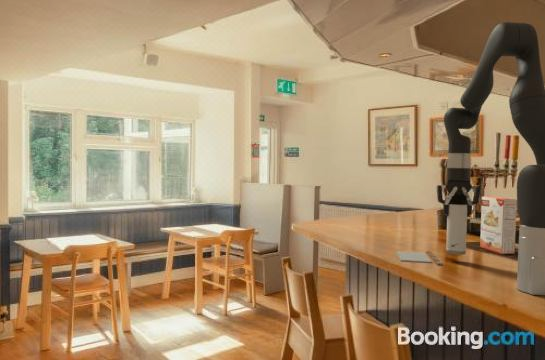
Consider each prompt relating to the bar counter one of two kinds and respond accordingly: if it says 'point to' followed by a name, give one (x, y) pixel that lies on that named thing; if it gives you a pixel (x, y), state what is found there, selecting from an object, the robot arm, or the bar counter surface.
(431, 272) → the bar counter surface
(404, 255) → the mat
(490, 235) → the cracker box
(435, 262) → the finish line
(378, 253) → the bar counter surface
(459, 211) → the travel mug
